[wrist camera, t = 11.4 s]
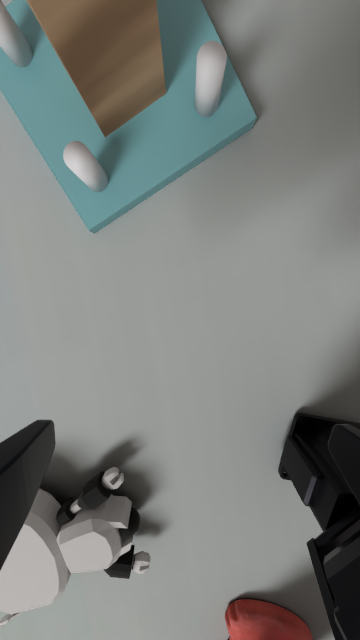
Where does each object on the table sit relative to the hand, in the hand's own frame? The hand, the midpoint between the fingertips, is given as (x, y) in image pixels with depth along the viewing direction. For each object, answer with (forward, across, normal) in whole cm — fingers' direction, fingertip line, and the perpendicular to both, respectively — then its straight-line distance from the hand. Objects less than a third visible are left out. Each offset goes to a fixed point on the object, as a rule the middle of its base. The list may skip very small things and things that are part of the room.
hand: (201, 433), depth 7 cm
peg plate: (+14, +5, -16) cm, 22 cm away
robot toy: (+12, +9, +20) cm, 25 cm away
